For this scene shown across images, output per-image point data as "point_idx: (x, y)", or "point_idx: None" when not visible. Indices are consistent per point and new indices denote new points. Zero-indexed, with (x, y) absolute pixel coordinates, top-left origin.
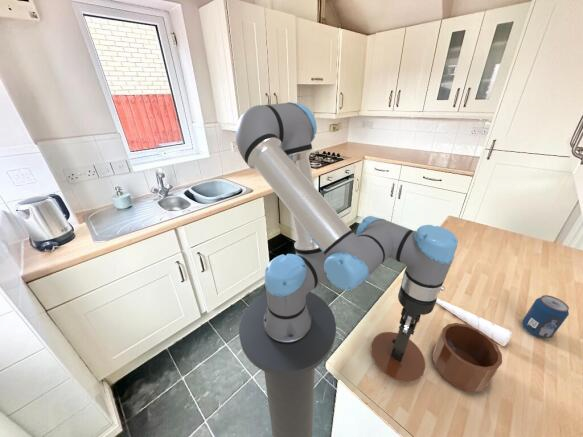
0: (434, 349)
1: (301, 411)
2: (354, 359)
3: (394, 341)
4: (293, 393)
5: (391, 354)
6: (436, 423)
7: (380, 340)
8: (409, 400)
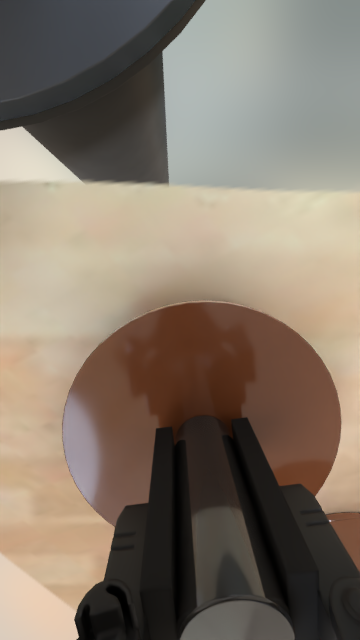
0: (354, 535)
1: None
2: (57, 263)
3: (103, 628)
4: (37, 140)
5: (155, 443)
6: (74, 586)
7: (222, 338)
8: (76, 508)
